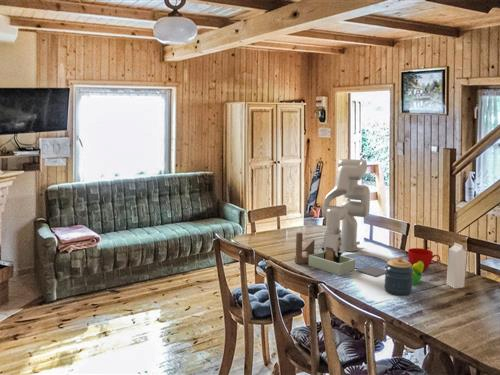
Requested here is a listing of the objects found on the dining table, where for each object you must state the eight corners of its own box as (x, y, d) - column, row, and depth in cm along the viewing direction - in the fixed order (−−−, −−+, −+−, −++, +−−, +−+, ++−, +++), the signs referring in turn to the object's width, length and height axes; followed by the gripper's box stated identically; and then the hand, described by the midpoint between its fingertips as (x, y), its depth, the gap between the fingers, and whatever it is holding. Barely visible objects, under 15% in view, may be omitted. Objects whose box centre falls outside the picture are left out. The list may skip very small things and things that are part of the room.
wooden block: (313, 262, 267) (314, 232, 264) (296, 264, 264) (297, 233, 262) (311, 261, 270) (312, 231, 268) (294, 262, 268) (295, 232, 265)
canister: (408, 298, 215) (410, 262, 212) (380, 292, 222) (382, 257, 219) (414, 290, 226) (416, 255, 223) (388, 284, 233) (390, 251, 230)
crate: (323, 260, 272) (324, 250, 271) (354, 269, 255) (355, 259, 254) (308, 265, 262) (308, 255, 261) (339, 275, 246) (339, 264, 245)
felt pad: (369, 266, 262) (369, 265, 262) (389, 271, 252) (389, 270, 252) (355, 271, 253) (355, 269, 253) (375, 277, 244) (376, 276, 244)
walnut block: (330, 265, 262) (331, 245, 260) (337, 267, 259) (338, 247, 257) (325, 267, 259) (325, 246, 257) (332, 269, 255) (332, 248, 254)
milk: (456, 283, 235) (459, 241, 232) (464, 287, 230) (467, 245, 226) (445, 284, 234) (449, 242, 231) (453, 288, 228) (457, 245, 225)
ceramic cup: (439, 274, 249) (440, 256, 248) (406, 270, 255) (408, 253, 253) (438, 267, 261) (439, 250, 260) (407, 263, 267) (408, 247, 266)
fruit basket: (404, 277, 244) (405, 256, 243) (422, 278, 242) (423, 258, 240) (405, 284, 234) (406, 263, 232) (423, 286, 231) (425, 264, 229)
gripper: (349, 232, 252) (348, 263, 254) (324, 226, 264) (323, 256, 267) (341, 234, 247) (339, 266, 249) (316, 228, 260) (315, 259, 262)
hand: (331, 261), depth 258 cm, fingers open, 7 cm apart
